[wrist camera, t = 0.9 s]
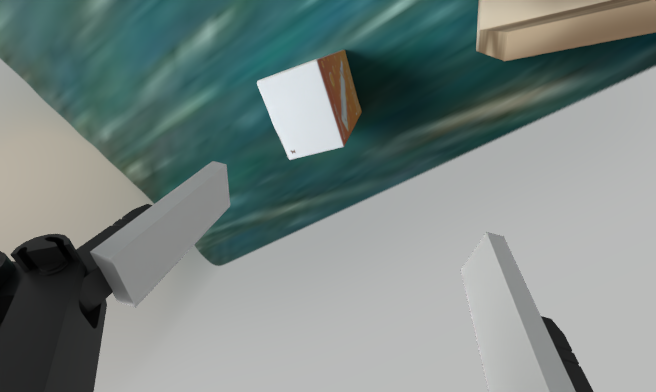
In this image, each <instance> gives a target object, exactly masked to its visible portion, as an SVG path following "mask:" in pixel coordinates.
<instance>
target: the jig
mask: <svg viewBox="0 0 656 392" xmlns="http://www.w3.org/2000/svg"><path fill="white" fill-rule="evenodd" d="M655 32H656V0H479V7H478V25H477V44H476V51H478V52H481V53H483V54H486V55H489V56H492V57H495V58H497V59H500V60H503V61H508V60H513V59H519V58H524V57H529V56H534V55H539V54H545V53H550V52H555V51H560V50H566V49H571V48H576V47H581V46H587V45H592V44H597V43H602V42H608V41H613V40H618V39H623V38H628V37H634V36H639V35H644V34H649V33H655Z"/></svg>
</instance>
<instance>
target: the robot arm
mask: <svg viewBox="0 0 656 392" xmlns="http://www.w3.org/2000/svg"><path fill="white" fill-rule="evenodd" d="M229 207H230V199H229V188H228V177H227V166H226V164H222V163H219V162H215V161H212V162H211V163H209V164H208V165H207V166H205V167H204V168H203V169H201V170H200V171H199V172H197V173H196V174H195V175H193V176H192V177H190V178H189V179H188V180H186V181H185V182H184V183H182V184H181V185H180V186H178V187H177V188H176V189H174V190H173V191H172V192H170V193H169V194H167V195H166V196H165V197H163V198H162V199H161V200H159V201H158V202H157V203H155V204H154V205H149V204H146V205H144V206H141V207H139V208H136V209H134V210H132V211H131V212H129V213H128V214H126V215H125V216H124V217H123V218H122V219H119V220H118V221H116V222H115V223H114V224H113V226H109V227H108V228H107V229H105V230H104V231H102V232H101V233H99V234H98V235H96V236H95V237H94V238H92V239H91V240H89V241H88V242H86V243H85V244H84V245H82V246H81V247H79V248H78V249H77V250H76V249H75V248H74V246H73V245H72V243H71V241H70V239H69V238H67V237H66V236H65V235H60V234H48V235H44V236H40V237H36V238H33V239H31V240H29V241H26V242H25V243H23V244H21V245H20V246H18V247H17V248H16V249H15V250H14V251H13V252H12V253H11V256H12V257H13V258H14V260H15V261H16V262H13V261H11V260H10V259H9V258H8V257H7V256H6V254H4V253H2V252H1V251H0V392H93V391H94V385H95V378H96V371H97V365H98V359H99V352H100V346H101V339H102V333H103V327H104V320H105V314H106V307H107V303H106V298H107V297H108V296H109V295H110V294H111V293H112V292H113V294H114V296H115V298H116V300H117V301H118V302H121V303H124V304H126V305H130V306H132V307H136V306H137V305H138V304H139V303H140V302H141V301H142V300H143V299H144V298H145V297H146V296H147V295H148V293H150V291H151V290H152V289H153V288H154V287H155V286H156V285H157V284H158V283H159V282H160V281H161V279H163V278H164V276H165V275H166V274H167V273H168V272H169V271H170V270H171V269H172V268H173V267H174V266H175V265H176V264H177V263H178V261H179V260H180V259H181V258H182V257H183V256H184V255H185V254H186V253H187V252H188V250H190V249H191V247H192V246H193V245H194V244H195V243H196V242H197V241H198V240H199V239H200V238H201V237H202V236H203V235H204V234H205V232H206V231H207V230H208V229H209V228H210V227H211V226H212V225H213V224H214V223H215V222H216V221H217V220H218V219H219V217H220V216H221V215H222V214H223V213H224V212H225V211H226V210H227V209H228V208H229ZM461 274H462V278H463V282H464V287H465V291H466V296H467V300H468V304H469V309H470V313H471V317H472V322H473V326H474V330H475V335H476V339H477V343H478V347H479V352H480V357H481V361H482V365H483V370H484V374H485V378H486V383H487V386H488V391H489V392H593V390H592V388H591V386H590V384H589V382H588V380H587V378H586V376H585V374H584V372H583V370H582V369H581V367H580V366H579V365H578V364H579V363H578V361H577V359H576V357H575V355H574V353H572V349H571V347H570V345H569V343H568V341H567V339H566V337H565V335H564V334H563V333H562V331H561V330H560V329H559V328H558V327H557V325H556V324H555V323H554V322H553V321H552V320H551V319H549V318H546V317H542V316H540V314H539V311H538V309H537V307H536V305H535V303H534V301H533V299H532V296H531V294H530V292H529V290H528V288H527V286H526V283H525V281H524V279H523V277H522V275H521V273H520V270H519V268H518V266H517V264H516V262H515V260H514V258H513V255H512V253H511V251H510V249H509V247H508V245H507V243H506V240H505V238H504V237H503V236H500V235H496V234H492V233H488V232H486V234H485V235H484V237H483V238H482V240H481V241H480V242H479V244H478V245H477V247H476V248H475V250H474V251H473V253H472V254H471V256H470V257H469V259H468V260H467V261H466V263H465V264H464V266H463V267H462V269H461Z"/></svg>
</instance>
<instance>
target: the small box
mask: <svg viewBox="0 0 656 392" xmlns="http://www.w3.org/2000/svg"><path fill="white" fill-rule="evenodd" d="M257 85H258V88H259V90H260V93H261V95H262V98H263V100H264V103H265V105H266V107H267V110H268V112H269V115H270V117H271V120H272V123H273V125H274V127H275V130H276V132H277V134H278V135H279V138H280V140H281V142H282V144H283V147H284V149H285V151H286V153H287V156H288V158H289V160H292V159H296V158H300V157H303V156H307V155H312V154H316V153H320V152H324V151H328V150H332V149H336V148H341V147H344V145H345V143H346V142H347V140H348V138H349V136H350V134H351V132H352V130H353V128H354V126H355V124H356V122H357V120H358V118H359V116H360V114H361V113H362V111H361V108H360V105H359V101H358V98H357V94H356V90H355V87H354V83H353V80H352V76H351V72H350V68H349V64H348V60H347V56H346V52H345V50H341V51H338V52H335V53H332V54H329V55H326V56H324V57H321V58H318V59H315V60H312V61H309V62H307V63H304V64H301V65H298V66H296V67H293V68H290V69H288V70H285V71H282V72H280V73H277V74H274V75H272V76H269V77H266V78H264V79H261V80H258V81H257Z"/></svg>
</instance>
